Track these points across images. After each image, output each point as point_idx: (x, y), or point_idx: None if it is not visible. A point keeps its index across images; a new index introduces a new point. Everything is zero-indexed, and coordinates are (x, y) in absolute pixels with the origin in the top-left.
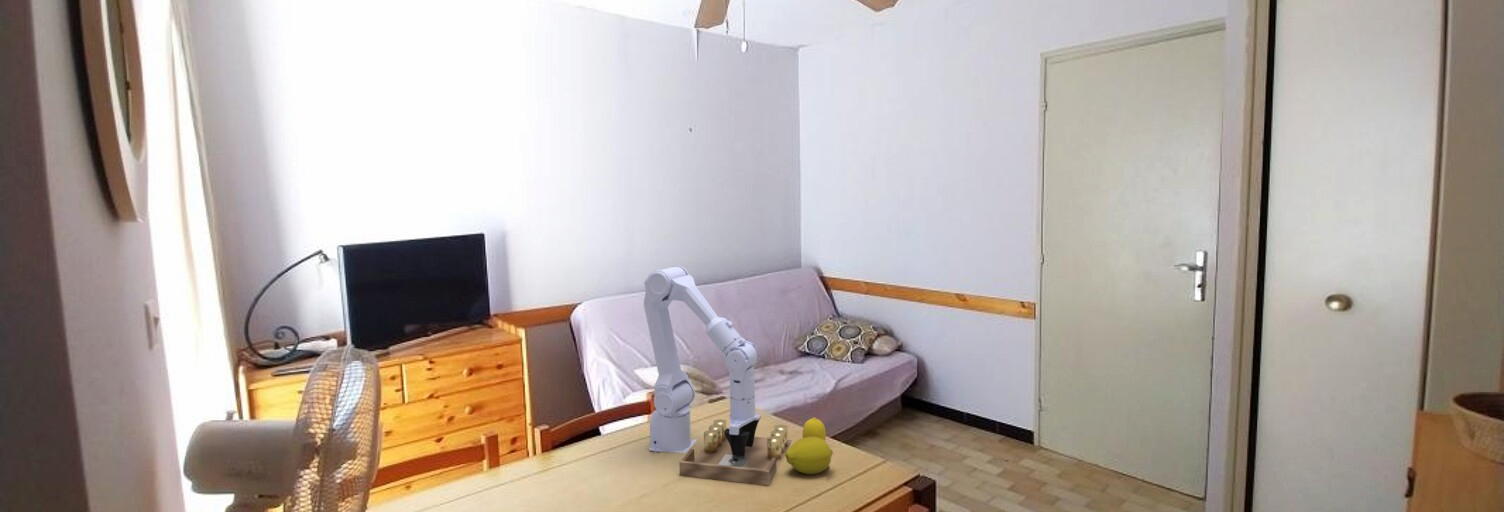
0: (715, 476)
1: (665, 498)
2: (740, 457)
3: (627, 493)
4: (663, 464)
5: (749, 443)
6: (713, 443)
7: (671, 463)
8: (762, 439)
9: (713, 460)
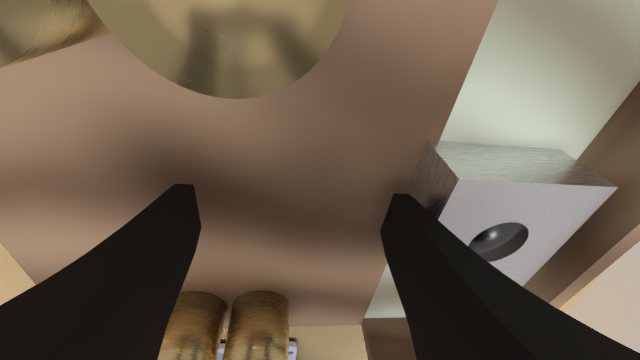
0: None
1: (567, 307)
2: (459, 223)
3: None
4: (362, 353)
5: (188, 213)
6: (280, 341)
7: (355, 344)
8: None
9: (348, 282)
